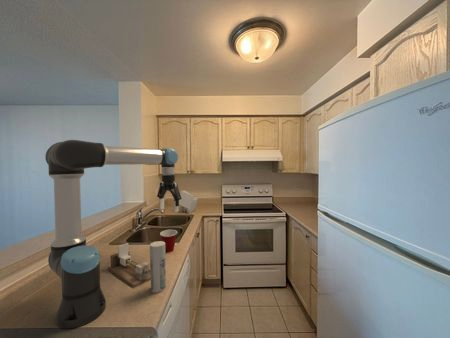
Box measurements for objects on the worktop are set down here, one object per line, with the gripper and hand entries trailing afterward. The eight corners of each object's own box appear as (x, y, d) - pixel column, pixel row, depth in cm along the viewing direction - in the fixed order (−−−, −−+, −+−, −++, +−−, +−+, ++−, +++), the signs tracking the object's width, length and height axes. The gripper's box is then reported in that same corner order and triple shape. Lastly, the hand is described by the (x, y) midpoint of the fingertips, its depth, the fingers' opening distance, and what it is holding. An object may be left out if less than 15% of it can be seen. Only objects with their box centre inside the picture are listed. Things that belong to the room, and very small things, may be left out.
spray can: (152, 284, 96) (152, 241, 95) (167, 284, 96) (166, 240, 96) (148, 293, 89) (147, 246, 89) (164, 292, 90) (163, 246, 89)
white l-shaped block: (123, 266, 107) (122, 247, 107) (118, 263, 110) (118, 245, 110) (132, 263, 111) (132, 245, 111) (127, 260, 114) (127, 242, 114)
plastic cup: (159, 255, 128) (159, 235, 128) (160, 248, 138) (160, 230, 138) (178, 252, 131) (177, 233, 130) (177, 246, 141) (176, 228, 141)
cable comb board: (134, 288, 93) (134, 272, 93) (107, 269, 110) (107, 256, 110) (158, 277, 102) (158, 262, 102) (129, 261, 120) (129, 248, 120)
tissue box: (183, 207, 261) (188, 188, 258) (194, 212, 257) (200, 193, 254) (174, 211, 241) (181, 191, 238) (186, 216, 237) (193, 196, 234)
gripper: (187, 174, 119) (187, 211, 119) (161, 174, 134) (161, 207, 135) (176, 175, 113) (177, 214, 113) (150, 174, 129) (151, 209, 129)
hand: (169, 210), depth 124 cm, fingers open, 13 cm apart
